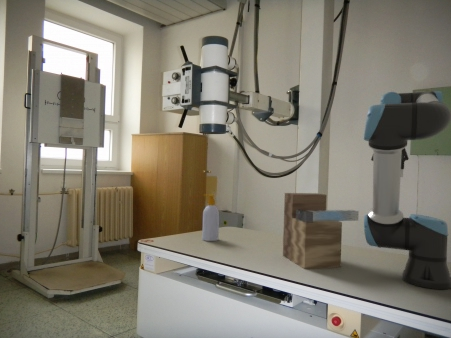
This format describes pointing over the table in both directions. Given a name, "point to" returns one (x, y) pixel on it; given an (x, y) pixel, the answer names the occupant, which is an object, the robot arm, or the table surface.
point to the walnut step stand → (310, 234)
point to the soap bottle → (210, 221)
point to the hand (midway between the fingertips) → (388, 176)
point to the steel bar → (326, 215)
